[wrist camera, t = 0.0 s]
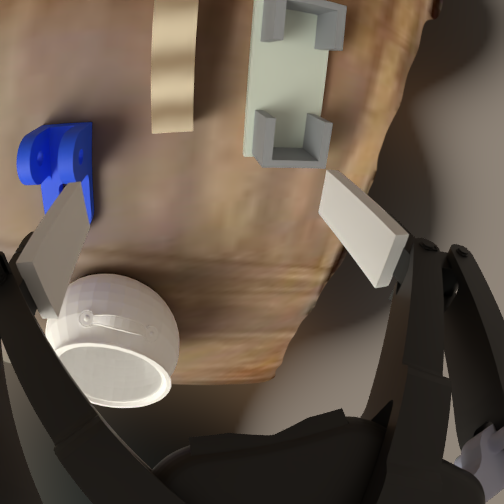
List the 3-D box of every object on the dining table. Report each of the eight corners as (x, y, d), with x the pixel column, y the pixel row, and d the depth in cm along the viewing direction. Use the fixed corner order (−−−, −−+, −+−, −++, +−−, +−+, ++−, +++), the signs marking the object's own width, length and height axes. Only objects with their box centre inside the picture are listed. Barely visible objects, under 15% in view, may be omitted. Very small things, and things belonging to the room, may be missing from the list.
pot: (156, 362, 68) (160, 420, 55) (54, 337, 56) (42, 397, 43) (199, 278, 55) (210, 349, 42) (61, 237, 43) (31, 306, 30)
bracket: (42, 124, 32) (14, 142, 25) (92, 121, 34) (71, 137, 27) (52, 229, 42) (35, 262, 35) (96, 230, 44) (84, 264, 37)
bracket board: (254, -3, 28) (268, -14, 23) (328, 10, 31) (354, 5, 25) (242, 154, 42) (253, 171, 37) (311, 155, 45) (331, 172, 39)
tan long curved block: (158, 2, 26) (155, -7, 22) (196, 1, 28) (199, -9, 23) (155, 124, 37) (152, 133, 32) (191, 121, 38) (192, 131, 33)
